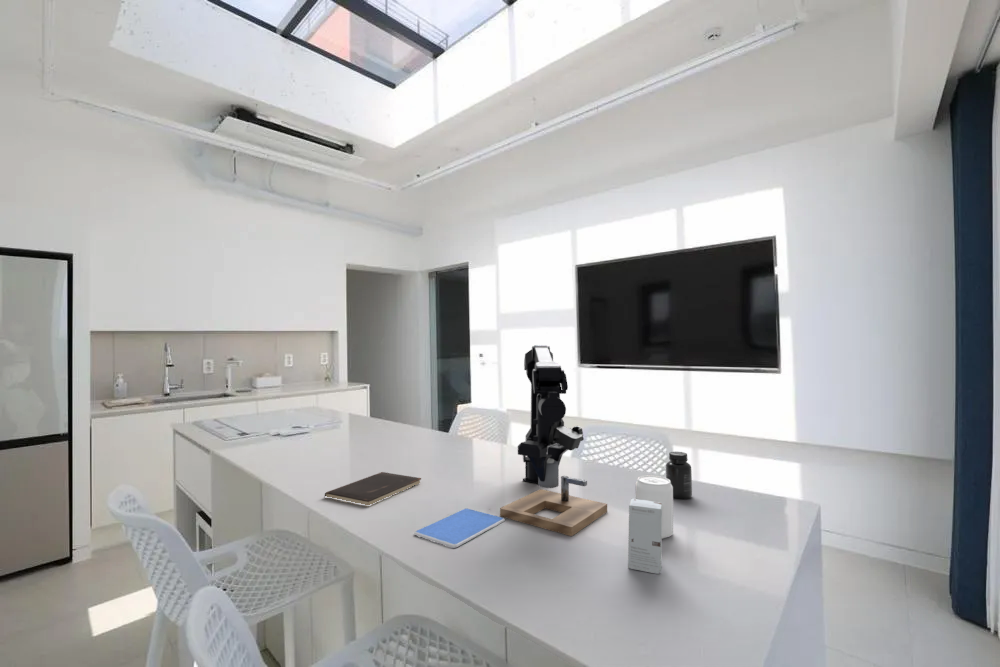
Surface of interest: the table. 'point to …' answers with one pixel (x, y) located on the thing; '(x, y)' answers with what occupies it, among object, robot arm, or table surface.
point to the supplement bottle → (679, 475)
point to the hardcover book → (373, 488)
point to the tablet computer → (459, 527)
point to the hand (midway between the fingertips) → (548, 478)
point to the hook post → (565, 486)
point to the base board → (568, 522)
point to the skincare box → (645, 536)
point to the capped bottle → (551, 475)
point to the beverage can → (658, 498)
